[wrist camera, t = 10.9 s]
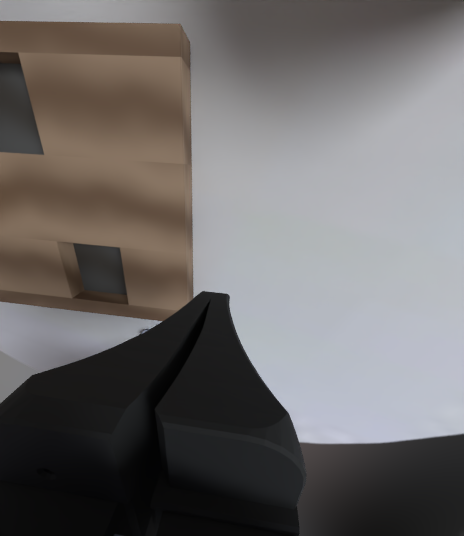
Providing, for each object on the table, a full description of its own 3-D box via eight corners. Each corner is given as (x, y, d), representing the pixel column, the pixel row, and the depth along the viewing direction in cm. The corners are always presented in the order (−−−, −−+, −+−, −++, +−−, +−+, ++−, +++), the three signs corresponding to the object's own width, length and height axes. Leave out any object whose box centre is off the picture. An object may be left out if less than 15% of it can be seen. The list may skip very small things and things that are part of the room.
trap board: (193, 312, 24) (188, 324, 22) (7, 290, 25) (-12, 300, 23) (190, 42, 15) (180, 23, 13) (-97, 36, 16) (-141, 18, 14)
